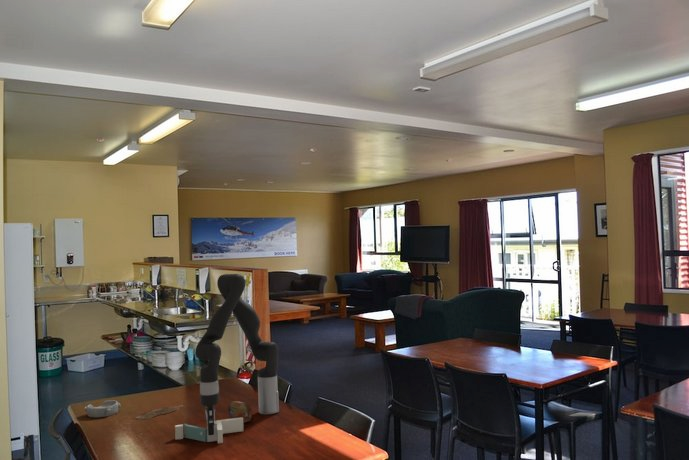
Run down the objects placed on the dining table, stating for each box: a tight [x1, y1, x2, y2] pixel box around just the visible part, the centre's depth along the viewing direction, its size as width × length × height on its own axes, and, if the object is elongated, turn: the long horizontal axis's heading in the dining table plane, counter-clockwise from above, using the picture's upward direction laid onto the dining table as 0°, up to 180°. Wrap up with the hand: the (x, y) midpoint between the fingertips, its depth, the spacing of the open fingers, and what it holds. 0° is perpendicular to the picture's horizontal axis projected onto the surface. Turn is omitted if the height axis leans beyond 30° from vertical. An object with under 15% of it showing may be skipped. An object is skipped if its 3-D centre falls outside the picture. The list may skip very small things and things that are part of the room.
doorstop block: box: [206, 420, 218, 443], centre depth 219 cm, size 4×4×7 cm
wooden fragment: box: [134, 404, 184, 420], centre depth 260 cm, size 26×11×1 cm, turn 138°
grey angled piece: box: [174, 417, 244, 444], centre depth 221 cm, size 28×13×5 cm, turn 106°
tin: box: [227, 400, 253, 424], centre depth 244 cm, size 15×3×8 cm, turn 47°
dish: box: [84, 399, 122, 418], centre depth 261 cm, size 14×14×5 cm
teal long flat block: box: [183, 423, 207, 443], centre depth 220 cm, size 13×2×5 cm, turn 60°
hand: (210, 431), depth 218 cm, fingers open, 8 cm apart
